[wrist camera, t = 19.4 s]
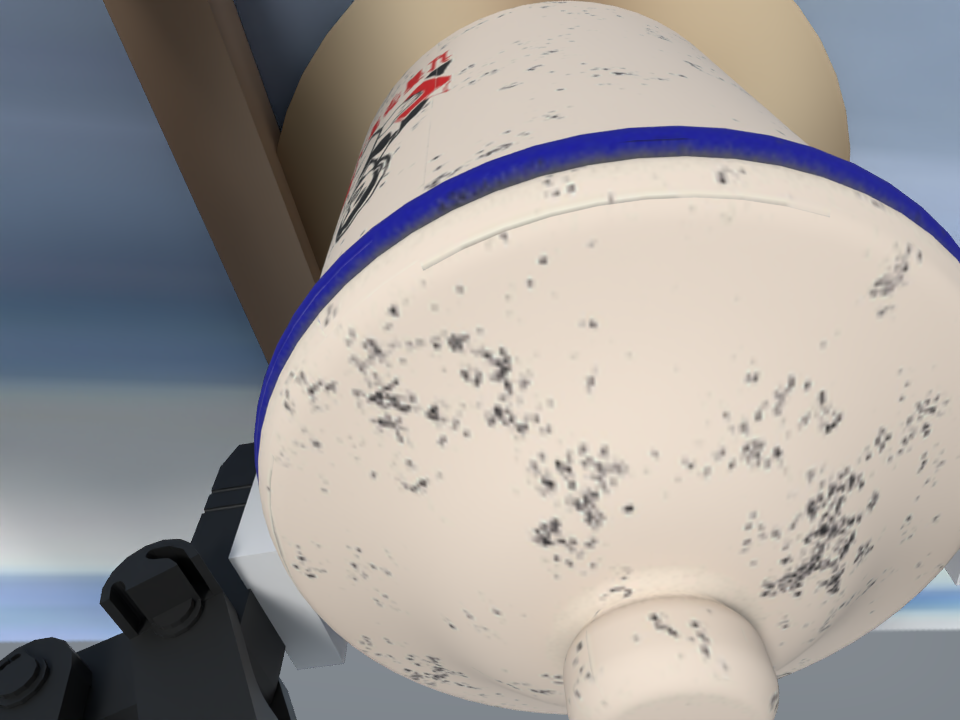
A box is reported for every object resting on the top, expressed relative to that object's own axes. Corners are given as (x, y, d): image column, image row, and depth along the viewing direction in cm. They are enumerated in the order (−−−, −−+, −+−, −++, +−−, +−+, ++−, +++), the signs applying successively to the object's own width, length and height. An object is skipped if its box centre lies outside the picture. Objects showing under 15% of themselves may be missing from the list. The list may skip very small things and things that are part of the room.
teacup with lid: (345, -47, 13) (42, 247, 4) (824, 11, 14) (1617, 381, 4) (344, 443, 20) (240, 984, 11) (662, 465, 21) (832, 986, 11)
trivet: (368, 458, 23) (366, 476, 23) (184, -15, 15) (171, -8, 15) (813, 389, 22) (823, 406, 21) (868, -172, 14) (888, -172, 13)
